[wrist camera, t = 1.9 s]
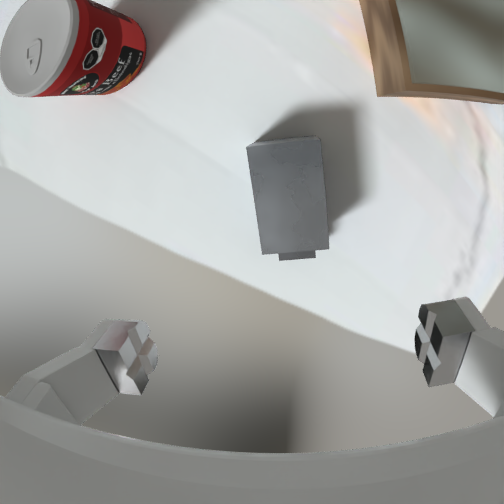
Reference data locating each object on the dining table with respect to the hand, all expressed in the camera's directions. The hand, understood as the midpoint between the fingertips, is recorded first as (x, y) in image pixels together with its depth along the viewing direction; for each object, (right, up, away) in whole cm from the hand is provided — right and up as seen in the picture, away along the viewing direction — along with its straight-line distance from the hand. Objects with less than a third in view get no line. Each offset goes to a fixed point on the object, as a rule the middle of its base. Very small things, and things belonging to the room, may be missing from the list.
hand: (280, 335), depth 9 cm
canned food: (-14, +20, +14) cm, 28 cm away
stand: (+14, +21, +9) cm, 27 cm away
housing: (+2, +8, +17) cm, 19 cm away
